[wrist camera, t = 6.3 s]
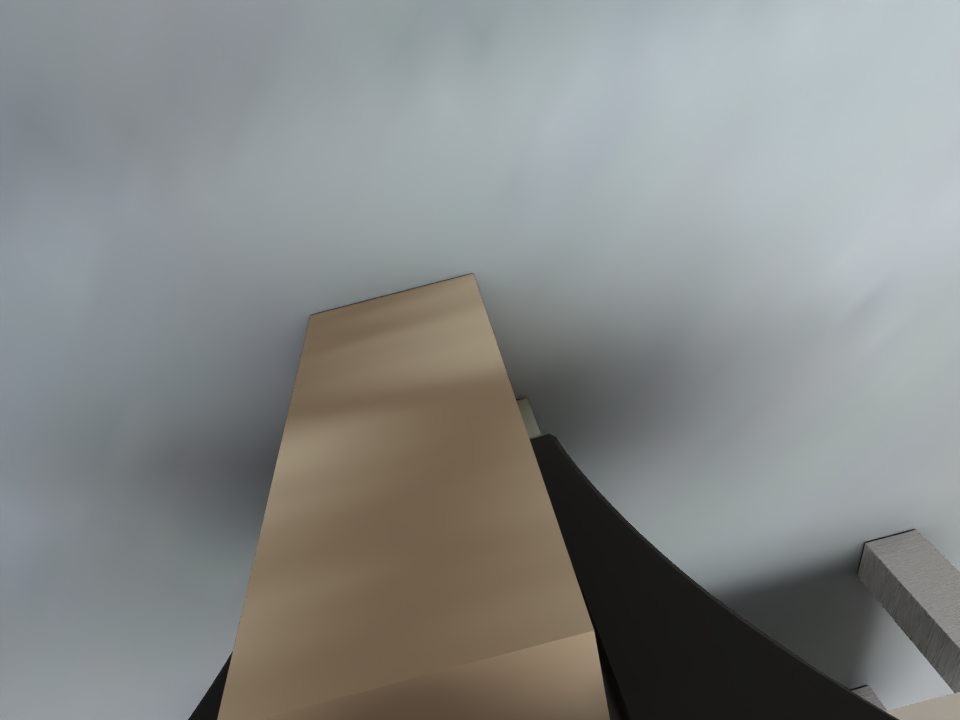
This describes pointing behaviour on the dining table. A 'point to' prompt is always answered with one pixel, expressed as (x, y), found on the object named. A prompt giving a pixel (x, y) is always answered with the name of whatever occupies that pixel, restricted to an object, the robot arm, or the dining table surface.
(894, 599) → the cream toy bench
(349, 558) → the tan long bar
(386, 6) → the dining table surface
